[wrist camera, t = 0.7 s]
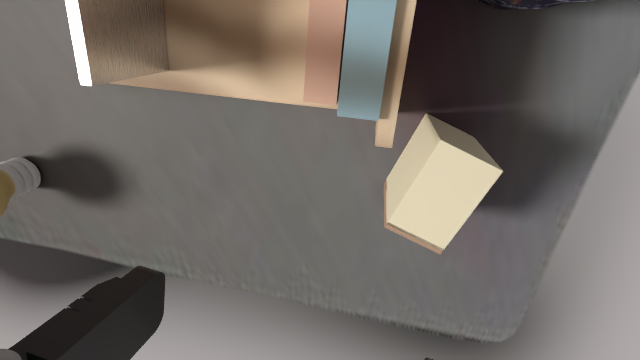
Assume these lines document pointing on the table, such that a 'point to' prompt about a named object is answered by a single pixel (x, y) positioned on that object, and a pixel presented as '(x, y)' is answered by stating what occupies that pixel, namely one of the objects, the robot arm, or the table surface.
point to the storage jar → (524, 3)
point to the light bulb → (16, 179)
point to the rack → (291, 54)
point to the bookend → (117, 39)
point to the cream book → (437, 184)
